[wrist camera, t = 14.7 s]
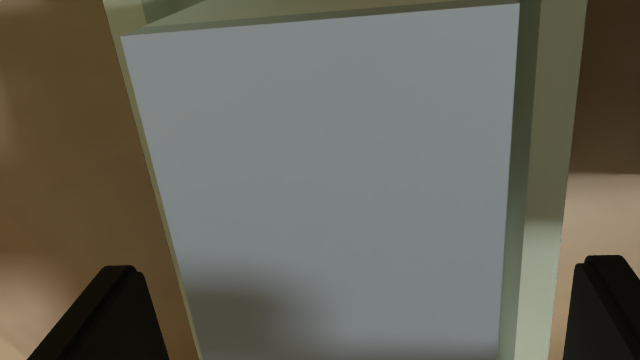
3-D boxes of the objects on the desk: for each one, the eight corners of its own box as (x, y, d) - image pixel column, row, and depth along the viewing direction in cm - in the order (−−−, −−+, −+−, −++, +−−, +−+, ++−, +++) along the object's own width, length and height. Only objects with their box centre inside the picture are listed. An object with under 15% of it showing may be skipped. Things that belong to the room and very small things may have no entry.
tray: (559, -143, 11) (605, -160, 8) (513, 418, 18) (532, 490, 15) (135, -88, 12) (77, -92, 10) (248, 412, 19) (230, 477, 17)
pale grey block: (454, -35, 11) (520, 3, 6) (448, 406, 17) (478, 636, 11) (242, -16, 12) (120, 36, 6) (305, 402, 17) (269, 619, 12)
